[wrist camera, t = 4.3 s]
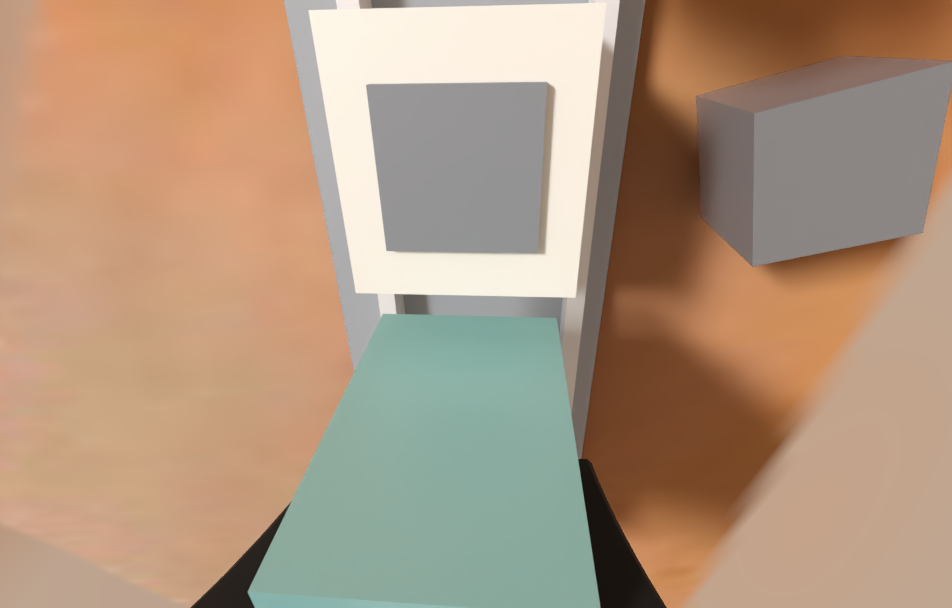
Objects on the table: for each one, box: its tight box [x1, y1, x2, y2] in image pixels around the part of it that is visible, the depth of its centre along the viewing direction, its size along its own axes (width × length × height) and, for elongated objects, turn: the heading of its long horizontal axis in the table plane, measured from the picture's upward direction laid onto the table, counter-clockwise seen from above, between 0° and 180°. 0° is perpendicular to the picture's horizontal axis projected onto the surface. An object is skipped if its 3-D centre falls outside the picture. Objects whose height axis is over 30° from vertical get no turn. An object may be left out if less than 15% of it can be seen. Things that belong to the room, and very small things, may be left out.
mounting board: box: [284, 0, 645, 459], centre depth 15 cm, size 22×10×7 cm, turn 1°
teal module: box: [248, 314, 601, 608], centre depth 10 cm, size 6×4×7 cm
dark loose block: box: [696, 56, 952, 267], centre depth 13 cm, size 4×4×4 cm
